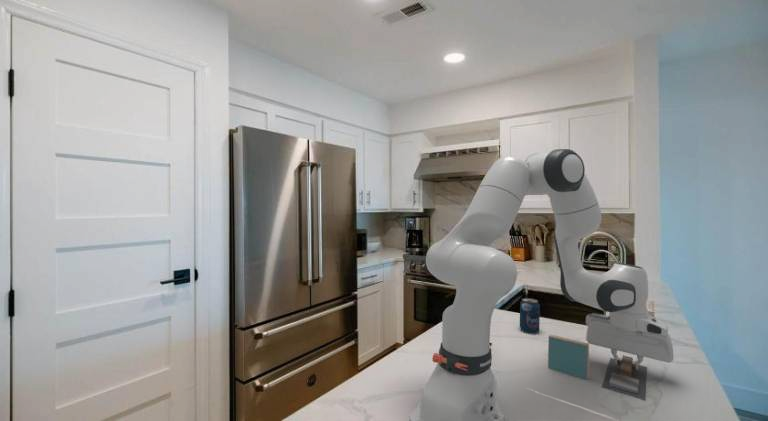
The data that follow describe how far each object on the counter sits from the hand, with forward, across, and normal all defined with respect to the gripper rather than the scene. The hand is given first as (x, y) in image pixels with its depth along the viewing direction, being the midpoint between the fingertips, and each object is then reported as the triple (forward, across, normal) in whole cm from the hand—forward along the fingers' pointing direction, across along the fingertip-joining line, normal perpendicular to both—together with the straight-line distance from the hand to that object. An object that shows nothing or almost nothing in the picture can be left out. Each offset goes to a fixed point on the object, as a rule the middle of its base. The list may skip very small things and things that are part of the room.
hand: (626, 366), depth 95 cm
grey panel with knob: (+1, 0, -4) cm, 4 cm away
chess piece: (+2, +5, +58) cm, 58 cm away
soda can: (+2, -31, +15) cm, 35 cm away
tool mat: (+2, 0, -4) cm, 4 cm away
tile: (+2, -13, -12) cm, 18 cm away
